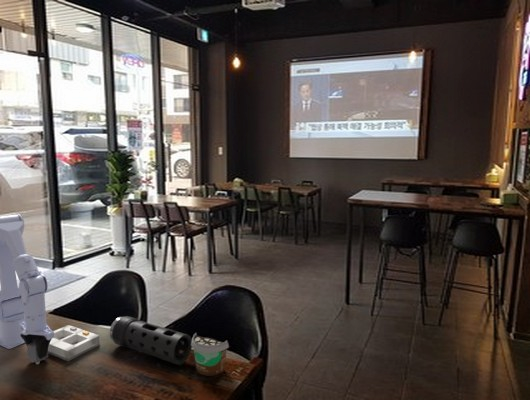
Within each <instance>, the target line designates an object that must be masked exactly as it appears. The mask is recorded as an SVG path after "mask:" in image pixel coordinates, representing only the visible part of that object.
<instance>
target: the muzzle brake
mask: <svg viewBox="0 0 530 400" xmlns="http://www.w3.org/2000/svg"><path fill="white" fill-rule="evenodd" d="M109 337H110V339H111V341H113V342H114V344H116V345H117V346H120V347H122V348H123V347H124V348H129V349H130V350H132V351H135V352H138V353H139V352H141V353H143V354H147V355H149V356H152V357H154V358H158V359H160V360H162V361H166V362H168V363H171V364H174V365H176V366H179V367H181V366H182V365H183V364H184V363H185V362H186V361H187V360H188V358H189V356H190V354H191V351H192V349H193V348H192V346H191V342H192V338H191V336H190V335H189V334H187V333H183V332H179V331H177V330H173V329H171V328H165V327H163V326H159V325H156V324H153V323H149V322H146V321H143V320H140V319H138V318H136V317H132V316H128V315H125V316H119V317H117V318H115V320H114V321H113V322H112V323H111V325H110V328H109ZM181 351H182V352H181Z"/></svg>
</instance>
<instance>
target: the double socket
mask: <svg viewBox="0 0 530 400" xmlns="http://www.w3.org/2000/svg"><path fill="white" fill-rule="evenodd" d="M52 331H53V332H54V338H52V339H51V341H50V344H49V347H48V355H51V356H53V357H56V358H59V359H61V360H63V361H66V362H70V361H71V360H73V359H77V358H78V357H80V356H82V355H83V354H85V353H87V352H89V351H91V350H93V349H95V348H97V347H98V346H101V345H100V344H101V343H100V335H99V334H96V333H93V332H90V331H88V330H85V329H82V328H80V327H79V328H78V327H76V326H73V325H69V324H67V325H64V326H63V327H60V328H58V329H55V330H52Z"/></svg>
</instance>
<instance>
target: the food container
mask: <svg viewBox="0 0 530 400" xmlns="http://www.w3.org/2000/svg"><path fill="white" fill-rule="evenodd" d="M191 340H192V342H191V346H192V348H191V349H193V352H194V362H195V369H196V370H195V371H196V372H197V374H199V375H202V376H208V377H210V376H217V375H221V374H222V373H223V372H224V371H225V370H226V369H225V368H226V360H227V359H226V358H227V349H229V348H230V345H229V342H228V340H225V341H224V342H223V341H219V340H217V339H215V338H212V337H203V336H200V335H197V332H195V333H194V334H193V336H192V338H191Z"/></svg>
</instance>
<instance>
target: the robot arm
mask: <svg viewBox="0 0 530 400" xmlns="http://www.w3.org/2000/svg"><path fill="white" fill-rule="evenodd" d="M24 230H25V220H24V217H23V216H22V215H21V214H20V213H16V214H11V215H10V214H7V215H1V216H0V346H2V347H4V348H6V349H8V350H10V349H13V348H15V347H17V346H21V345H22V344H25V346H26V347H27V344H29V343H32V342H34V344H35V345H36V348H37V353H38V357H39V358H40V359H41V358H43V357H45V356H46V355H47V351H48V347H49V344H50V341H51V339H52V338H54V332H53V331H54V330H52V329H51V328H50V326H49V325H48V324H47V313H46V311H47V310H46V297H45V296H46V295H45V293H46V292H47V291H48V286H49V285H48V281H47V278H46V276H45V274H43V273H42V271H41V270H39V268H38V266H37V263H36V262H35V258H34V257H33V256H32V255H30V254H28V252H27V248H26V245H25V242H24V239H23V236H22V235H23V234H24ZM17 278H18V280H17ZM18 282H19V283H18ZM27 349H28V347H27Z"/></svg>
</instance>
